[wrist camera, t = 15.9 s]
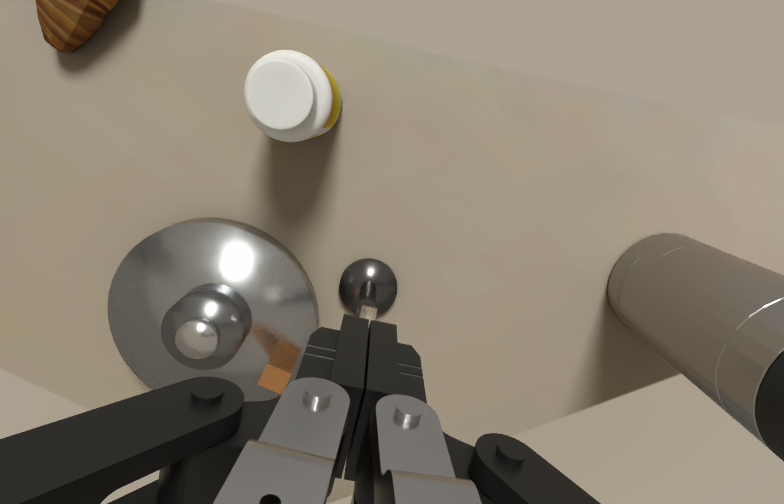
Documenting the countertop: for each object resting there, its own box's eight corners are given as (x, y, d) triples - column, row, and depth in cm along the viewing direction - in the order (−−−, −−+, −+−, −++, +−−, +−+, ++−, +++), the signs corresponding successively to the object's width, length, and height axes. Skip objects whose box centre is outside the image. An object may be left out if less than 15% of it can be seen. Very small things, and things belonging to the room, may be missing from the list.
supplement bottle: (317, 48, 36) (291, 22, 26) (356, 113, 37) (346, 111, 27) (258, 89, 37) (211, 78, 27) (298, 150, 38) (268, 162, 28)
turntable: (156, 182, 37) (116, 193, 32) (350, 271, 40) (344, 296, 34) (94, 354, 41) (49, 391, 36) (273, 426, 44) (257, 472, 38)
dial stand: (402, 265, 41) (409, 322, 29) (389, 317, 42) (391, 390, 31) (346, 253, 40) (331, 305, 29) (335, 305, 42) (316, 375, 30)
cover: (193, 271, 38) (170, 289, 33) (263, 302, 38) (248, 323, 34) (168, 332, 39) (143, 357, 35) (236, 361, 40) (219, 388, 36)
